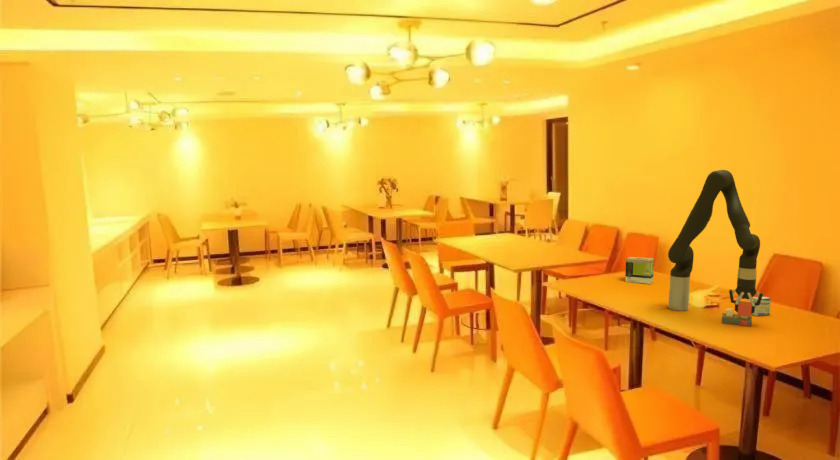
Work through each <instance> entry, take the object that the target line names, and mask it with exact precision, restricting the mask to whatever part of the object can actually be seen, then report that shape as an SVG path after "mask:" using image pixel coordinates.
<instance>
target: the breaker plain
mask: <svg viewBox="0 0 840 460" xmlns="http://www.w3.org/2000/svg"><path fill="white" fill-rule="evenodd" d="M734 311H735V308H728V307H727V308H726V309H725V313H726V316H728V317H733V314H734Z"/></svg>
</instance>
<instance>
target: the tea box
mask: <svg viewBox="0 0 840 460" xmlns="http://www.w3.org/2000/svg"><path fill="white" fill-rule="evenodd" d="M654 264H655V259H654V258H653V257H637V256H636V257H635V256H628V257H627V258H625V275H624V276H625V277H624V278H625V282H628V283H636V284H647V285H648V284H649V285H651V284H652V283H653V282H654V270H655V269H654Z"/></svg>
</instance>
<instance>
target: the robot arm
mask: <svg viewBox="0 0 840 460" xmlns="http://www.w3.org/2000/svg"><path fill="white" fill-rule="evenodd" d="M720 192H721V193H722V195H723V197H724V200H725V204H726V205H725V206H726V213H727V217H728V219H729V222H730V223H731V226H732V228H733V231H734V236H735V239H736V243H737V245H738V246H739V248H740V249H742V254H741V255H740V256H739V258H738V259H739V260H738V269H737V275H736V276H737V277H736V288H735V289H729V291H728V292H729V299H730V303H732V304H734V311H735V312H736V313H738V303H739V301H742V300H749V302H751V304H752V310H751V314H753V313H754V311H755V306H757V305H758V306H759V305H760V302H761V299H762V297H763V296H764V293H763V292H761V291H760V292H759V291H757V289H756V285H757V264H758V263H757V262H758V261H757V260H758V255H759V252H760V248H761V239H760V237H759V236H758V235H757V234H754V233H751V230H750V227H751V223H750V220H749V218H748V216H747V214H746V212H745V210H744V207H743V205H742V203H741V200H740V196H739V193H738V190H737V186H736V182H735V178H734V175H733V174H732V173H731V172H730V171H729V170H728V169H727V170H726V169H719V170H713V171H711V172H710V173H709V174H708V175H707V176H706V179H705V180H704V184H703V186H702V190H701V192H700V194H699V195H698V198H697V200H696V202H695V204H694V205H693V206H692V209H691V210H690V212H689V214H688V216H687V219H686V220H685V222H684V225H683V226H682V228H681V230H680V232H679V234H678V235H677V237H676V239H675V241H674V242H673V243H672V245H670V247H669V249H668V253H667V256H668V260H669V261H670V262H671V263H673V264H675V265H674V266H673V268H672V269H671V270H670V275H669V276H670V277H669V290H668V303H667V304H668V305H667V308H668V309H669V310H673V311H677V312H678V311H681V312H682V311H683V312H684V311H688V310H689V306H690V305H689V304H690V303H689V301H690V286H691V273H692V272H693V267H694V266H693V265H694V250H693V248H692V246H690V245H691V244H692V242H693V241H694V240H695V239H696V238H698V236H699V235H700V234H701V233H703V231H704V230H705V229H706V227H707V225H708V223H709V222H710V221H711V219H712V215H713V208H714V204H715V200H716V199H717V197H718V196H719V194H720ZM735 293H736V295H738V296H736V297H737V298H736V300H735V299H734V295H735ZM755 295H756V297H758V300H757V302H755V303H754V300H753V297H755Z"/></svg>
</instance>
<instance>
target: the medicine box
mask: <svg viewBox="0 0 840 460" xmlns="http://www.w3.org/2000/svg"><path fill="white" fill-rule="evenodd" d="M753 300H754V303H755V302H757V300H758V296H753ZM771 301H772V300H771V298H770V297H769V296H768V297H767V296H764V295H763V296H762V299H761V302H760V305H759V306H758V305H757V306H755V311H754V313H753V314H751V316H755V317H764V316H766V317H767V316H770V315H771Z"/></svg>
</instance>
